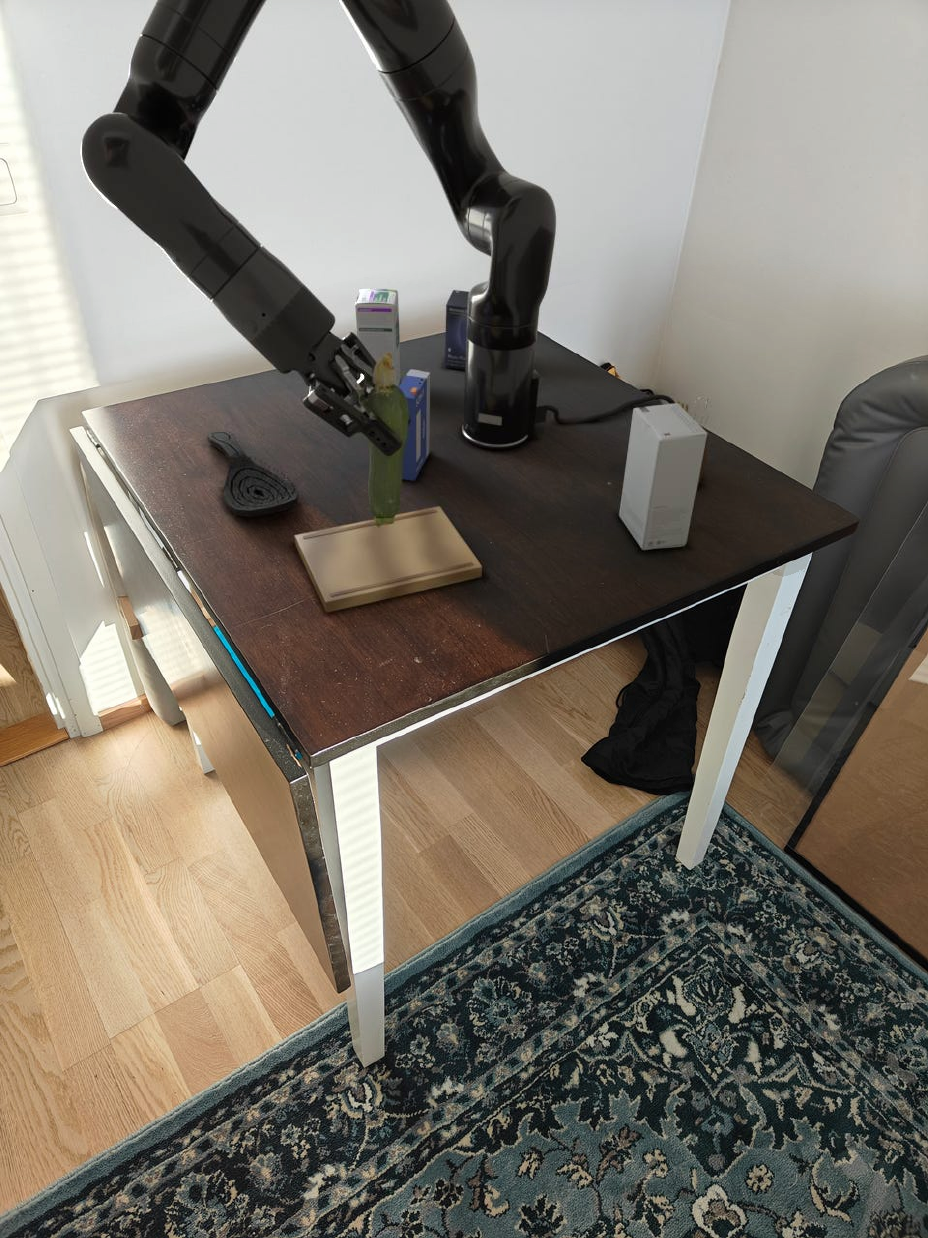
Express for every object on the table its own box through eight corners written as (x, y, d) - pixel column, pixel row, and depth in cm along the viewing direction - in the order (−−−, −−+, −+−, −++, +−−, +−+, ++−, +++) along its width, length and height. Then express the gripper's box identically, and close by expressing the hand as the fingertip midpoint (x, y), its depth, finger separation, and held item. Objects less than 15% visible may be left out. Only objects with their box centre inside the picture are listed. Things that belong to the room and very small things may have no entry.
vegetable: (368, 511, 97) (363, 337, 84) (407, 511, 98) (408, 338, 85) (368, 534, 94) (363, 357, 81) (409, 533, 94) (409, 357, 81)
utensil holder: (709, 478, 116) (730, 394, 108) (683, 496, 112) (703, 411, 104) (671, 461, 119) (689, 379, 111) (645, 478, 115) (662, 394, 107)
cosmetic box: (686, 547, 104) (713, 435, 94) (638, 552, 102) (661, 439, 93) (658, 508, 110) (682, 399, 100) (614, 513, 109) (632, 403, 99)
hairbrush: (241, 410, 120) (309, 490, 103) (245, 435, 122) (312, 517, 105) (181, 423, 116) (241, 508, 99) (186, 448, 119) (246, 535, 102)
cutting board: (439, 516, 107) (439, 505, 106) (481, 577, 98) (482, 565, 97) (295, 545, 101) (294, 534, 100) (326, 613, 92) (325, 601, 91)
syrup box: (398, 400, 130) (396, 303, 120) (359, 398, 130) (354, 301, 120) (401, 383, 134) (399, 288, 125) (363, 381, 134) (358, 287, 125)
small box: (442, 369, 138) (444, 303, 132) (450, 352, 143) (451, 288, 136) (508, 376, 137) (513, 310, 130) (513, 359, 142) (518, 295, 135)
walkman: (414, 481, 113) (414, 395, 105) (394, 478, 113) (392, 392, 105) (430, 452, 118) (431, 368, 111) (410, 449, 119) (410, 365, 111)
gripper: (276, 313, 75) (414, 452, 82) (318, 259, 85) (437, 385, 92) (224, 366, 78) (361, 494, 85) (271, 308, 89) (389, 426, 96)
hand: (400, 437), depth 89 cm, fingers closed on vegetable, 4 cm apart
